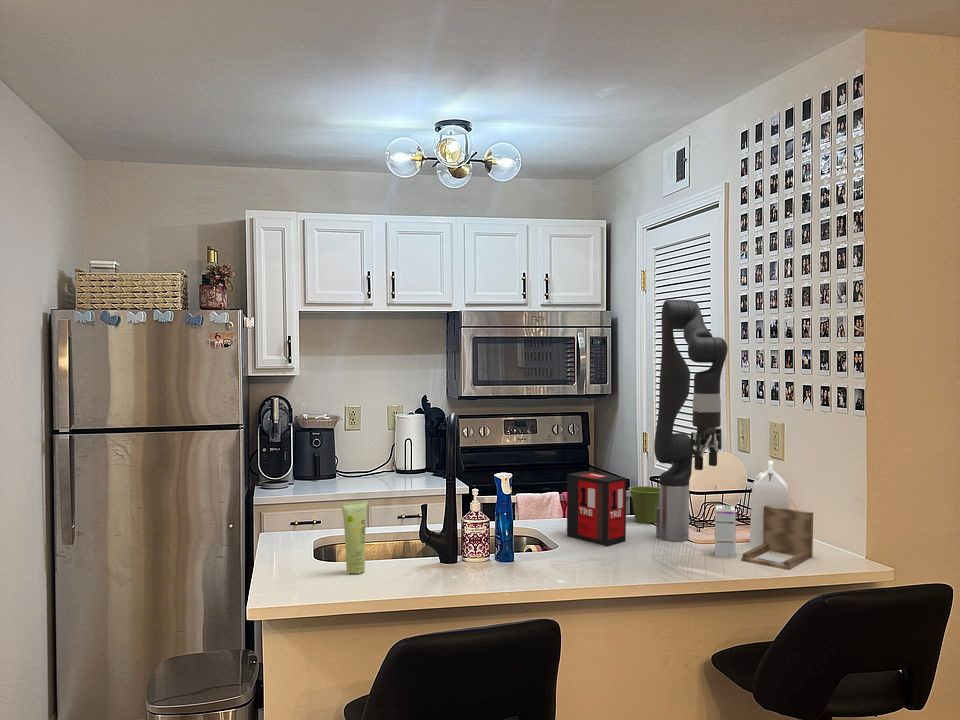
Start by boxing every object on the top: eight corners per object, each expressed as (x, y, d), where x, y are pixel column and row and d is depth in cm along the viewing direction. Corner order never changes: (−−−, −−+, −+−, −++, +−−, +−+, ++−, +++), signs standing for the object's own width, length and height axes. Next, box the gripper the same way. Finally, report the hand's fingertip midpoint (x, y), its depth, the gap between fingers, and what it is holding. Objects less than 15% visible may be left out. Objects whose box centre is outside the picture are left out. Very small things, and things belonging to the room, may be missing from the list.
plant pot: (667, 525, 288) (667, 492, 287) (632, 525, 288) (632, 492, 287) (659, 517, 300) (659, 485, 299) (625, 517, 299) (625, 485, 299)
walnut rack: (740, 564, 242) (741, 515, 241) (764, 552, 255) (765, 505, 254) (789, 574, 233) (790, 523, 232) (812, 560, 246) (813, 512, 245)
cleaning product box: (625, 541, 267) (626, 478, 266) (607, 546, 261) (607, 481, 260) (585, 531, 279) (585, 471, 278) (566, 536, 273) (567, 474, 272)
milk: (789, 553, 253) (791, 466, 252) (749, 550, 257) (750, 464, 256) (789, 543, 265) (790, 460, 264) (750, 540, 269) (751, 458, 267)
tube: (359, 576, 231) (358, 504, 230) (342, 574, 232) (341, 503, 231) (368, 570, 236) (367, 500, 235) (351, 568, 237) (350, 498, 237)
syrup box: (735, 560, 245) (736, 509, 244) (714, 558, 246) (715, 508, 246) (734, 554, 250) (735, 505, 250) (713, 553, 252) (714, 504, 251)
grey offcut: (757, 561, 242) (757, 557, 242) (764, 557, 245) (764, 554, 245) (780, 566, 237) (780, 562, 237) (788, 562, 240) (788, 559, 240)
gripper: (705, 406, 244) (705, 463, 245) (681, 410, 233) (681, 469, 234) (730, 408, 239) (729, 466, 240) (707, 412, 229) (706, 472, 229)
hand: (705, 467), depth 237 cm, fingers open, 8 cm apart
